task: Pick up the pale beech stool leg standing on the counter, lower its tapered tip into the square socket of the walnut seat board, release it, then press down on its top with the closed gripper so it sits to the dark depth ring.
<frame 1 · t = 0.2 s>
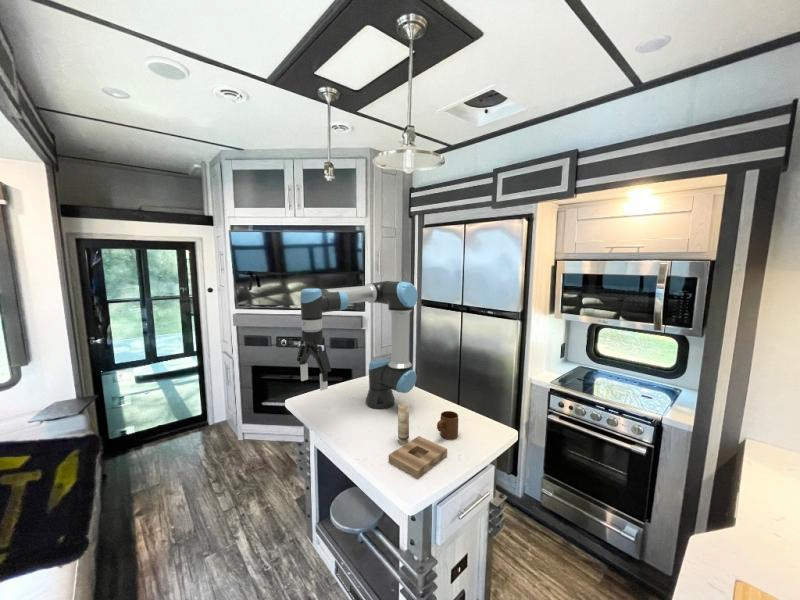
hand: (313, 384, 125), 28 cm above the countertop, fingers open, 13 cm apart
seat board: (418, 459, 125), on the countertop
leg: (403, 442, 136), on the countertop
mug: (446, 437, 140), on the countertop
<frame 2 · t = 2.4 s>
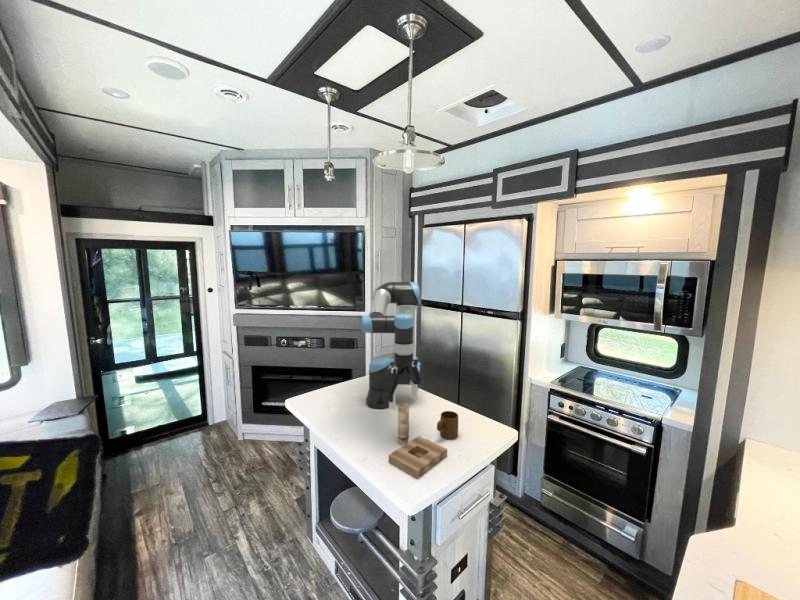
hand: (403, 403, 134), 17 cm above the countertop, fingers open, 13 cm apart
nothing on the countertop moved.
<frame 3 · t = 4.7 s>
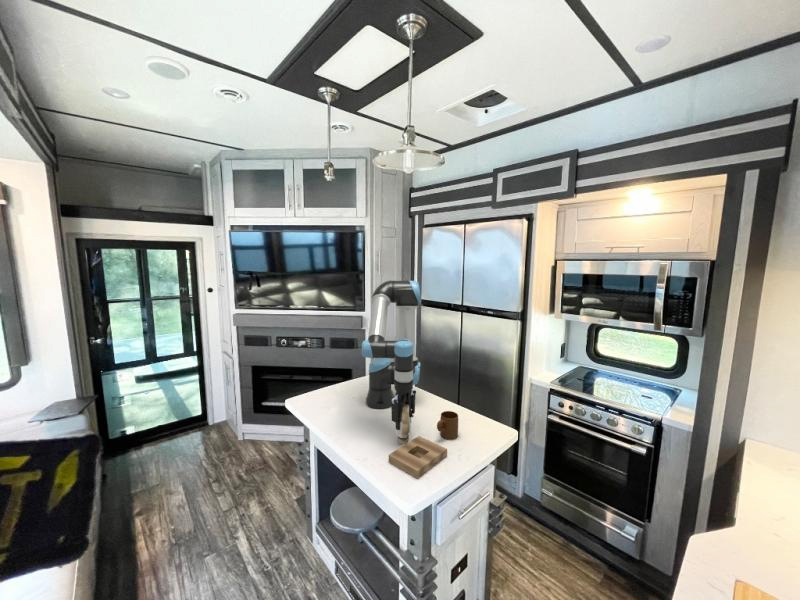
hand: (403, 433, 136), 4 cm above the countertop, fingers closed on leg, 4 cm apart
leg: (403, 442, 136), on the countertop, touching gripper
everything else where it was.
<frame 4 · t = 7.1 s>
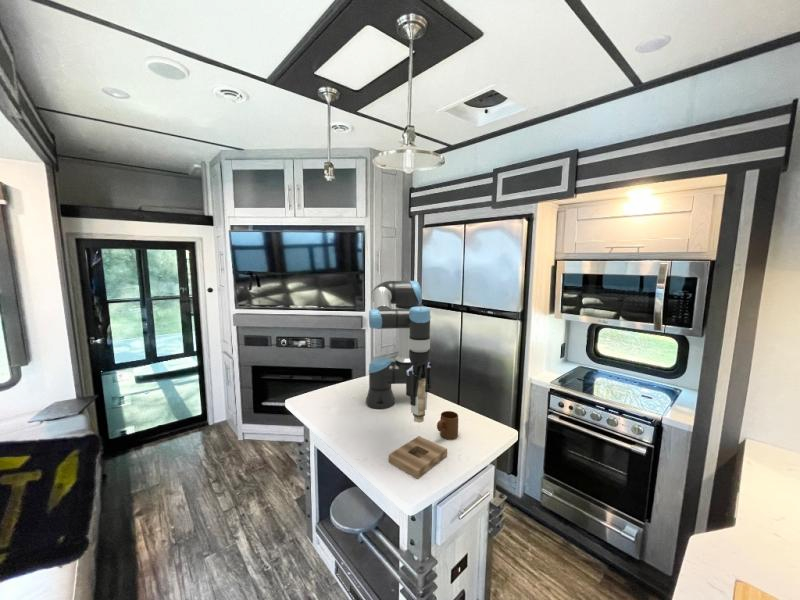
hand: (418, 410, 122), 19 cm above the countertop, fingers closed on leg, 4 cm apart
leg: (418, 420, 122), point 16 cm above the countertop, touching gripper
everything else where it was.
when the fingers open (5 cm above the countertop, at t = 9.5 s): leg stays where it is, resting on seat board.
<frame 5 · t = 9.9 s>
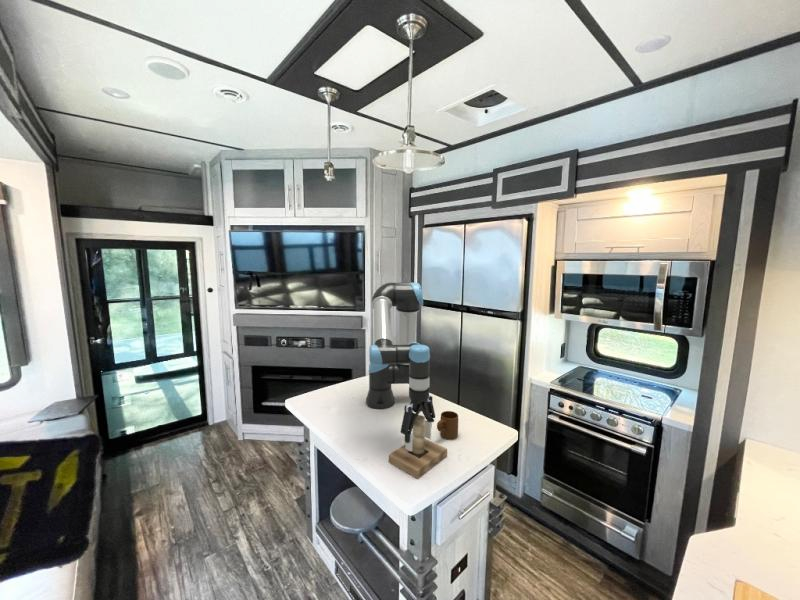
hand: (418, 443, 124), 6 cm above the countertop, fingers open, 10 cm apart
leg: (418, 457, 124), point 1 cm above the countertop, touching seat board
everything else where it was.
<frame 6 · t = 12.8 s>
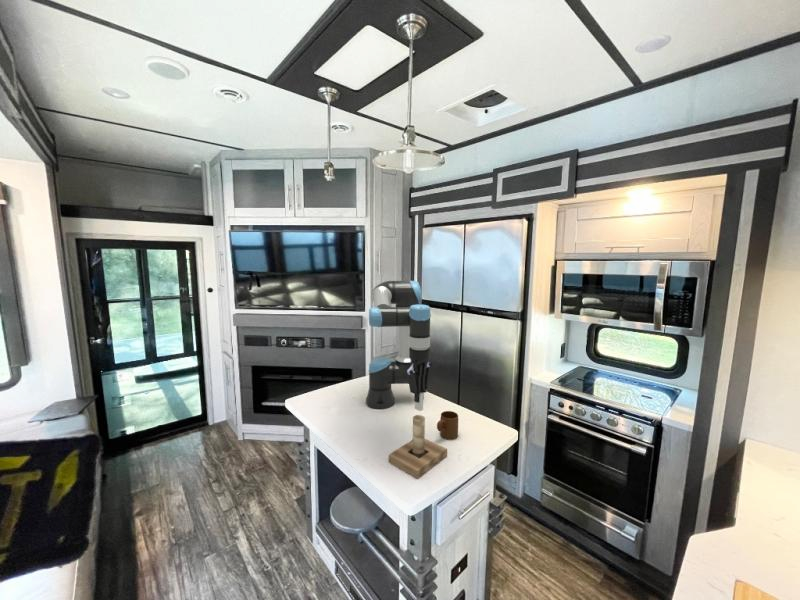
hand: (418, 409, 122), 20 cm above the countertop, fingers closed
nothing on the countertop moved.
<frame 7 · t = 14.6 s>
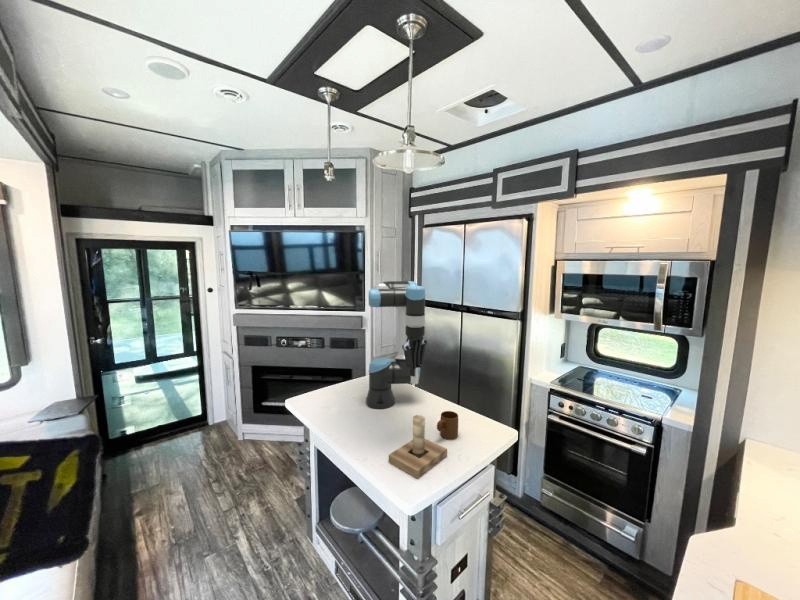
hand: (414, 383, 132), 26 cm above the countertop, fingers closed
nothing on the countertop moved.
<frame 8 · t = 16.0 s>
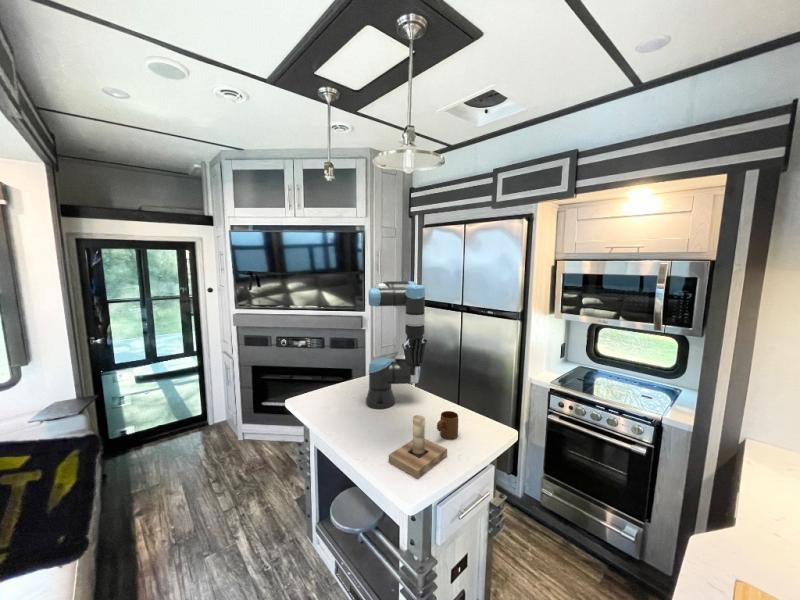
hand: (414, 382, 132), 26 cm above the countertop, fingers closed
nothing on the countertop moved.
at the end: leg 0.0 cm off-centre on the seat board, point 0.5 cm above the seat board's base; leg tilted 0°; the gripper is holding nothing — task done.
